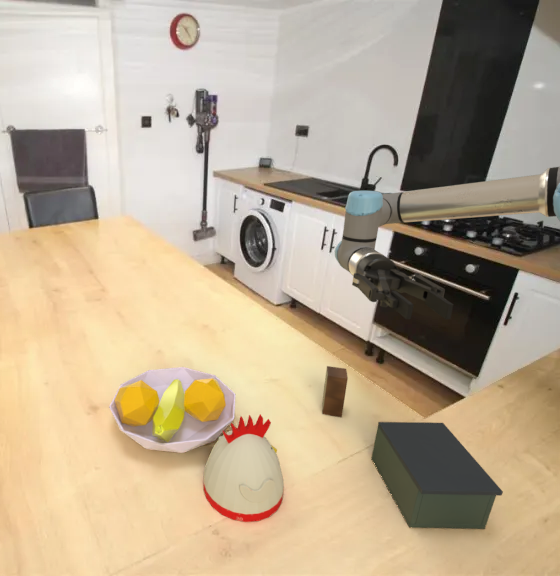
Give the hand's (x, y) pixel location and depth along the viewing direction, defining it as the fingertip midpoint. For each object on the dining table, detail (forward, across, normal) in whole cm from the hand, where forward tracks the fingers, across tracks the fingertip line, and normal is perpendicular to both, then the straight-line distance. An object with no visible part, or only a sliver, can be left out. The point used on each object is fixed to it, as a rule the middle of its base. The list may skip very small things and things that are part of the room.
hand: (429, 311), depth 69 cm
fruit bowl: (-7, +44, -30) cm, 54 cm away
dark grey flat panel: (+9, 0, -22) cm, 24 cm away
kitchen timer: (+9, +31, -30) cm, 44 cm away
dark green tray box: (+9, 0, -30) cm, 31 cm away
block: (-13, +9, -30) cm, 34 cm away
